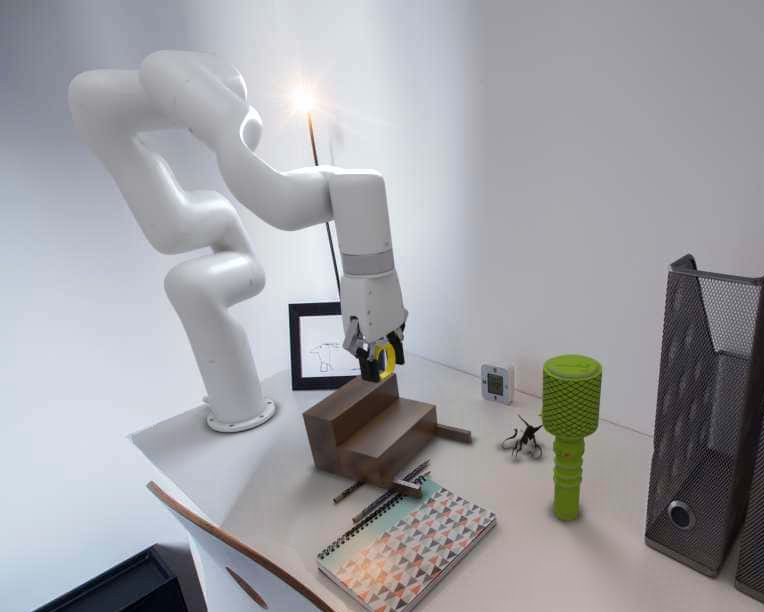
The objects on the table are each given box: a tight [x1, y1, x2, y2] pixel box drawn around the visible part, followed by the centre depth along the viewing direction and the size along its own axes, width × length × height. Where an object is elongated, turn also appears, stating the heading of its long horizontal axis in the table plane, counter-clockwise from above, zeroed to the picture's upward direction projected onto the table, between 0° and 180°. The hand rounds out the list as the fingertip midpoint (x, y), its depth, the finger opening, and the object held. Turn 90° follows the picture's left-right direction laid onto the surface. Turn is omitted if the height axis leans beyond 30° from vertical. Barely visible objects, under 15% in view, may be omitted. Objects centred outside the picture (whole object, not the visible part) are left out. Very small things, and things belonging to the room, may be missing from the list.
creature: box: [501, 413, 543, 460], centre depth 93 cm, size 8×5×8 cm
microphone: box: [538, 354, 604, 522], centre depth 74 cm, size 8×8×25 cm
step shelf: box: [301, 369, 472, 500], centre depth 91 cm, size 21×18×11 cm
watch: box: [374, 339, 396, 380], centre depth 85 cm, size 6×3×6 cm, turn 160°
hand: (383, 371), depth 86 cm, fingers closed on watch, 6 cm apart
